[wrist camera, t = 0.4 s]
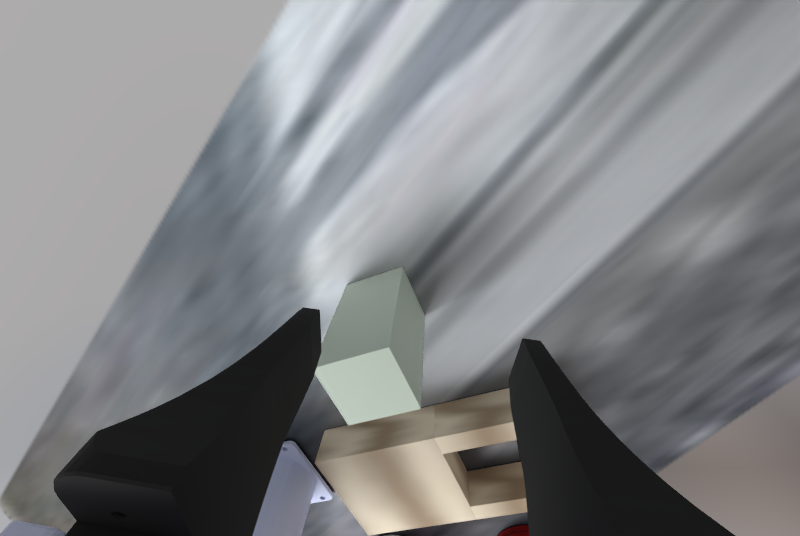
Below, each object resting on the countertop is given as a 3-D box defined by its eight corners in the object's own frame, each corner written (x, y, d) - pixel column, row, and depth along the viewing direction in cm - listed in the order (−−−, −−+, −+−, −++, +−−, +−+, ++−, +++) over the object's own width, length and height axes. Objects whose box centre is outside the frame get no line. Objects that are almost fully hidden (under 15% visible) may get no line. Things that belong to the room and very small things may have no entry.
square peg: (371, 331, 26) (348, 425, 19) (346, 284, 25) (311, 368, 18) (424, 315, 25) (421, 409, 18) (402, 266, 24) (389, 347, 17)
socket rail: (373, 500, 35) (368, 535, 33) (324, 430, 31) (314, 463, 29) (570, 467, 31) (582, 503, 28) (542, 380, 27) (553, 413, 24)
